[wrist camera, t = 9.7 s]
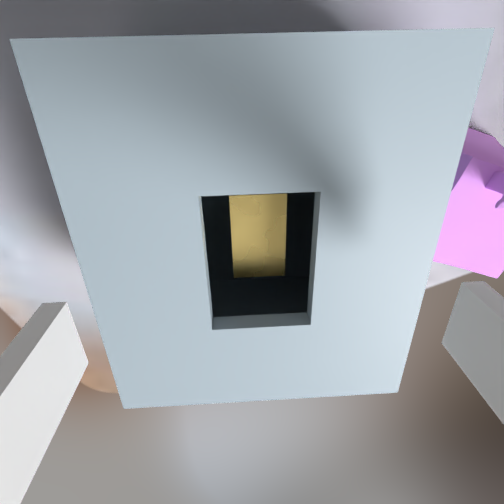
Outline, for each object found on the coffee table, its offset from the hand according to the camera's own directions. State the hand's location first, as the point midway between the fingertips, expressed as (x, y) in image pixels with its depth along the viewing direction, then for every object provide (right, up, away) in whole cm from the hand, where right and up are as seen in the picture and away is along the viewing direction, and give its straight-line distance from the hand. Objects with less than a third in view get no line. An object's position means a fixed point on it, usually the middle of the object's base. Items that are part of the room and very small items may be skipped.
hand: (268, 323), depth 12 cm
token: (-1, +7, +14) cm, 16 cm away
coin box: (-1, +7, +14) cm, 16 cm away
